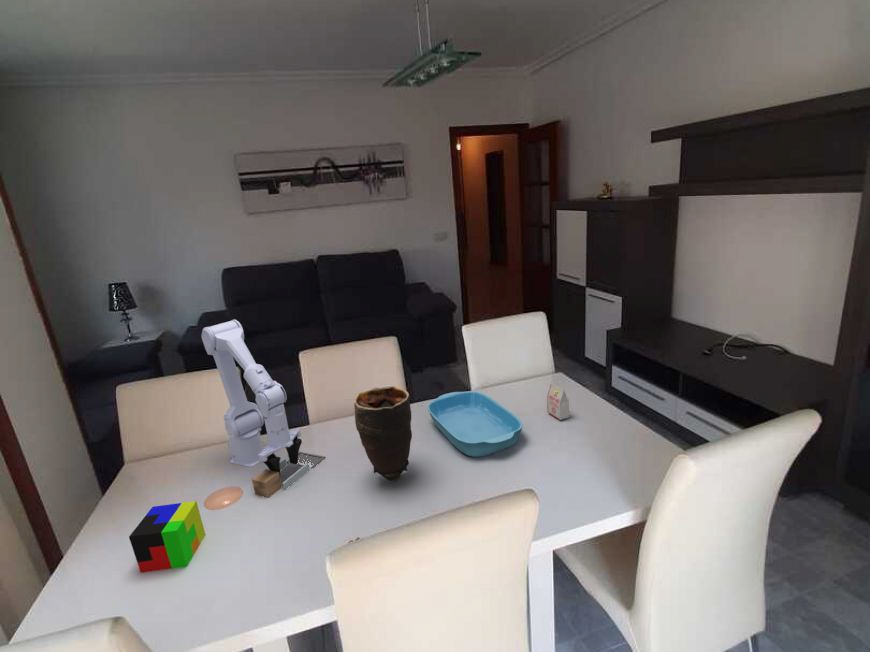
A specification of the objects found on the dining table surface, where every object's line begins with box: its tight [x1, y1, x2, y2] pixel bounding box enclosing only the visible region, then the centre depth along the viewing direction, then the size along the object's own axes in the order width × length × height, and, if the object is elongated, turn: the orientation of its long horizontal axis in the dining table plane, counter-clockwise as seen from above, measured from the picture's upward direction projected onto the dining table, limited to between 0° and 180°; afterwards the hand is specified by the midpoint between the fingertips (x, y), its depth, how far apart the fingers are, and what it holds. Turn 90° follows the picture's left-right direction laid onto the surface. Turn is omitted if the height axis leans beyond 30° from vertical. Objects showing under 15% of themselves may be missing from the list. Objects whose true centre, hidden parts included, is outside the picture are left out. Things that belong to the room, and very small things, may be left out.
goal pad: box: [203, 486, 244, 511], centre depth 124 cm, size 10×10×1 cm
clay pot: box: [353, 384, 413, 482], centre depth 123 cm, size 15×15×25 cm
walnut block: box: [251, 468, 283, 499], centre depth 125 cm, size 5×5×5 cm
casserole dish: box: [426, 390, 524, 458], centre depth 146 cm, size 37×22×7 cm, turn 24°
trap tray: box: [286, 451, 326, 469], centre depth 139 cm, size 10×6×1 cm, turn 65°
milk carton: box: [546, 383, 570, 421], centre depth 152 cm, size 4×7×10 cm, turn 23°
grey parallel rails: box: [280, 458, 310, 491], centre depth 131 cm, size 9×10×2 cm
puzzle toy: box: [128, 500, 206, 573], centre depth 104 cm, size 10×10×10 cm
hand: (285, 470), depth 131 cm, fingers open, 6 cm apart
